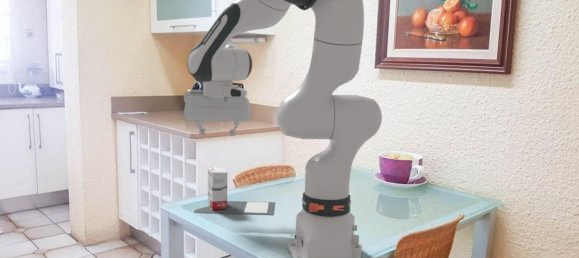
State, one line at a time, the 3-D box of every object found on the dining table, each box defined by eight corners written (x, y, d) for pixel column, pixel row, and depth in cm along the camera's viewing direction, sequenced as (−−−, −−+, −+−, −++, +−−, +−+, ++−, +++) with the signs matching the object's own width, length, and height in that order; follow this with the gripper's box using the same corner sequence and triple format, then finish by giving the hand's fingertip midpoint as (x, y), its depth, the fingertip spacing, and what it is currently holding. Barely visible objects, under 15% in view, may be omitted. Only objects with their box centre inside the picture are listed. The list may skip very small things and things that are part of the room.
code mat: (273, 215, 139) (273, 214, 139) (193, 212, 139) (193, 212, 139) (274, 202, 152) (274, 202, 152) (202, 200, 152) (202, 200, 152)
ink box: (227, 209, 143) (228, 172, 141) (212, 210, 141) (212, 172, 139) (222, 201, 151) (222, 166, 149) (207, 202, 149) (207, 167, 147)
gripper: (181, 89, 138) (181, 135, 140) (249, 91, 138) (249, 137, 140) (186, 88, 144) (186, 132, 146) (251, 90, 144) (250, 134, 146)
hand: (217, 135), depth 143 cm, fingers open, 8 cm apart
